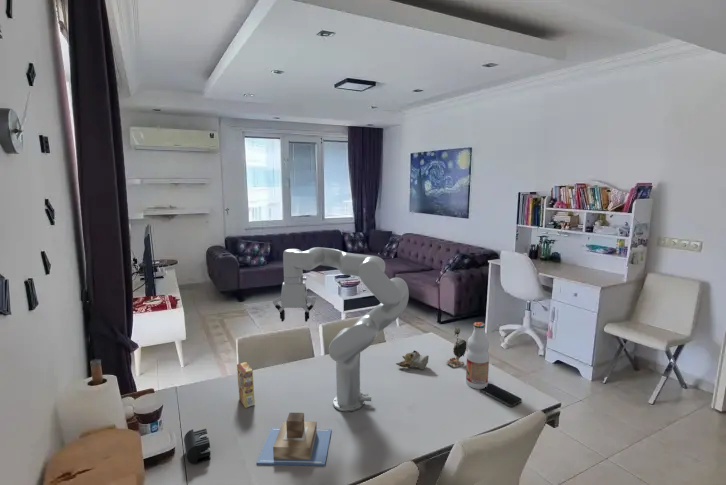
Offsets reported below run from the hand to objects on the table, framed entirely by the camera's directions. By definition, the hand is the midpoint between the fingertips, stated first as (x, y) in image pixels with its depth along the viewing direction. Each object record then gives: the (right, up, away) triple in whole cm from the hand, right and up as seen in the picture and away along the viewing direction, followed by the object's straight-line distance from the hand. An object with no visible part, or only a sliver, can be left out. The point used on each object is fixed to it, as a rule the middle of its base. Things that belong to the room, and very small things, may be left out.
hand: (294, 320), depth 163 cm
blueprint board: (+5, -38, -27) cm, 47 cm away
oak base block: (+5, -38, -27) cm, 47 cm away
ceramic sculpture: (+52, -29, +31) cm, 67 cm away
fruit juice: (+78, -31, +14) cm, 86 cm away
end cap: (-27, -39, -30) cm, 56 cm away
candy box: (-20, -34, +1) cm, 39 cm away
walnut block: (+5, -33, -27) cm, 43 cm away
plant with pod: (+74, -28, +34) cm, 86 cm away
